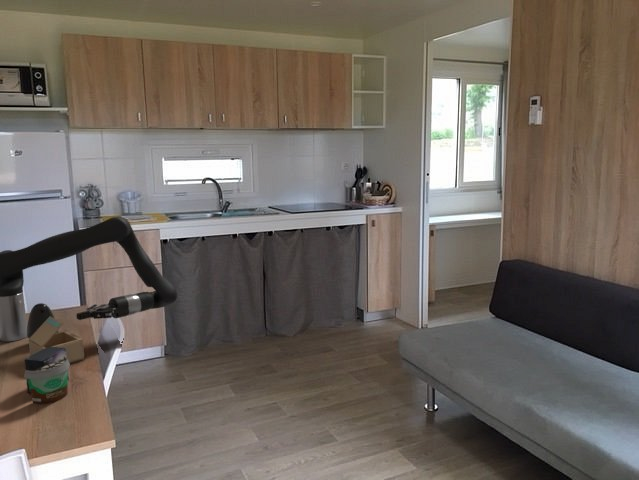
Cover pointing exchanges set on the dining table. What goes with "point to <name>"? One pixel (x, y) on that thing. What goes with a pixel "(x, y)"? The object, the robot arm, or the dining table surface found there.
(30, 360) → the small box
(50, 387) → the food container
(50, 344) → the carton
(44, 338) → the flap
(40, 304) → the black egg-shaped piece
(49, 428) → the dining table surface
